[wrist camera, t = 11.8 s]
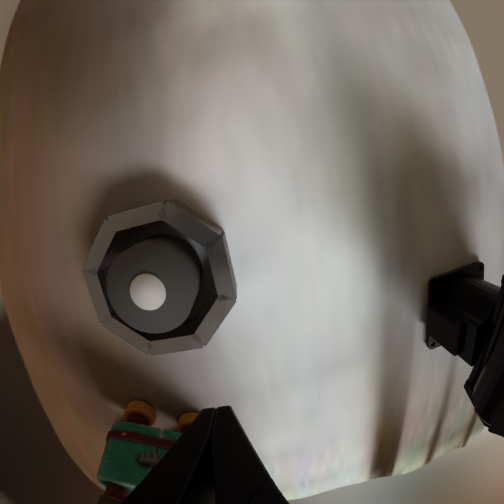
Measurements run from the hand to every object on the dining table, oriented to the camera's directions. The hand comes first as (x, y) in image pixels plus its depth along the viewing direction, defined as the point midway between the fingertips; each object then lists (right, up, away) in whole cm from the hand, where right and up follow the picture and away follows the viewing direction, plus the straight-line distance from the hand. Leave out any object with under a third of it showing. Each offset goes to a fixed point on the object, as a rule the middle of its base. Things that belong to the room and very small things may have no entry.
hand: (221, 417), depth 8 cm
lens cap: (-5, +4, +11) cm, 13 cm away
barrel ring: (-5, +3, +11) cm, 13 cm away
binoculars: (-7, -12, +15) cm, 20 cm away
